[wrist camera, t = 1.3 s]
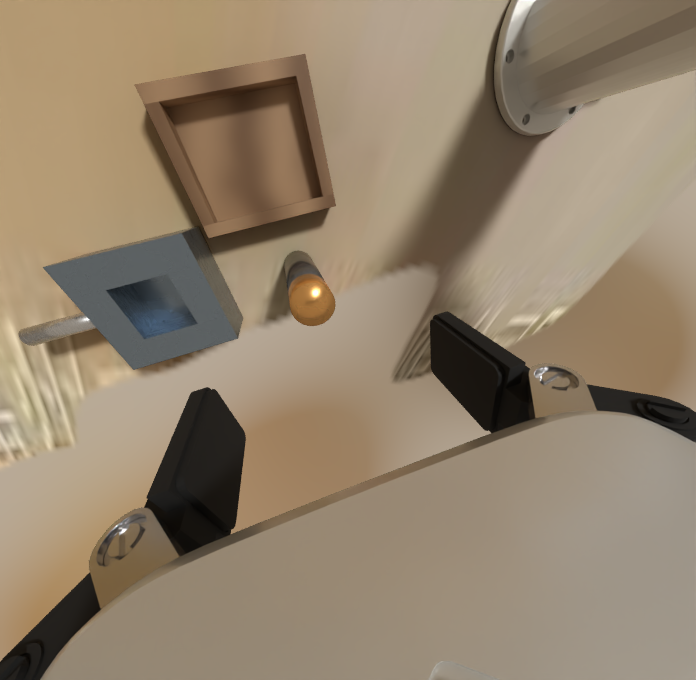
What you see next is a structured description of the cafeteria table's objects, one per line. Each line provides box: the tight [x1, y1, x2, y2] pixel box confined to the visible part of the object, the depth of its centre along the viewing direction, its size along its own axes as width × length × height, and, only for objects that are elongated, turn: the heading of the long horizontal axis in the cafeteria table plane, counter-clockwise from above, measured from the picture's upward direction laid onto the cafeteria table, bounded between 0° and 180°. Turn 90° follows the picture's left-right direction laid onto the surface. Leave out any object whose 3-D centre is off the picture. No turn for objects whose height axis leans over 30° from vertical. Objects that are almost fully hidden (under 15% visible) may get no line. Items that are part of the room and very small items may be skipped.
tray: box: [135, 54, 336, 238], centre depth 21 cm, size 12×10×2 cm
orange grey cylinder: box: [284, 251, 335, 326], centre depth 22 cm, size 3×3×12 cm
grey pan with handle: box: [19, 227, 243, 370], centre depth 23 cm, size 16×10×5 cm, turn 102°
